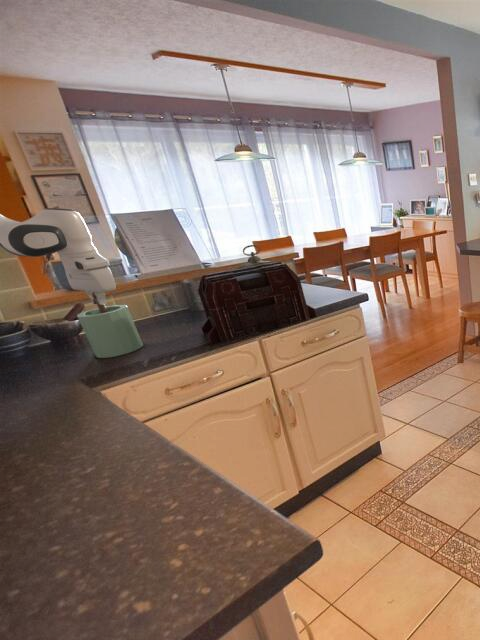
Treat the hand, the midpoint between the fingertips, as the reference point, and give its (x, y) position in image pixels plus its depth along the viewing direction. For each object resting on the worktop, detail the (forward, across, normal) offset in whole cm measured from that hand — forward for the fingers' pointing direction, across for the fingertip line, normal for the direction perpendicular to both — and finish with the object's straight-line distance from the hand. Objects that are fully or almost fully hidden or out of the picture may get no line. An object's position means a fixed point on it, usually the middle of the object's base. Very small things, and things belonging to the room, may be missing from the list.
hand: (100, 304), depth 141 cm
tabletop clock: (+15, +4, +53) cm, 56 cm away
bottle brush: (+14, 0, 0) cm, 14 cm away
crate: (+16, +30, +31) cm, 46 cm away
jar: (+16, +2, -1) cm, 16 cm away
